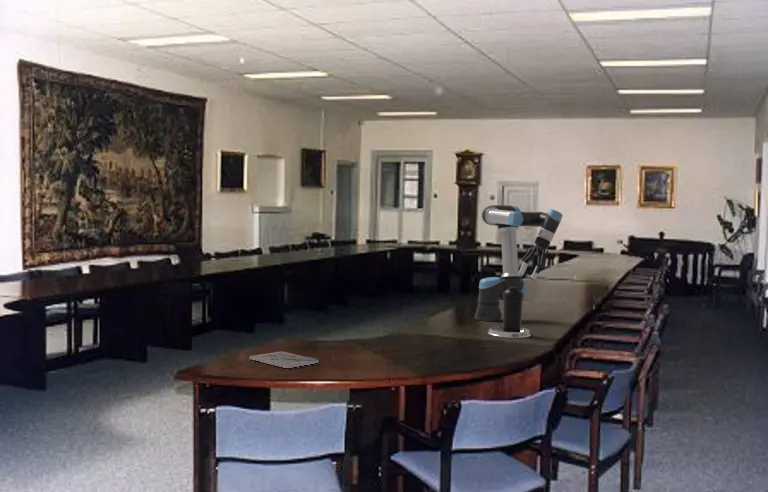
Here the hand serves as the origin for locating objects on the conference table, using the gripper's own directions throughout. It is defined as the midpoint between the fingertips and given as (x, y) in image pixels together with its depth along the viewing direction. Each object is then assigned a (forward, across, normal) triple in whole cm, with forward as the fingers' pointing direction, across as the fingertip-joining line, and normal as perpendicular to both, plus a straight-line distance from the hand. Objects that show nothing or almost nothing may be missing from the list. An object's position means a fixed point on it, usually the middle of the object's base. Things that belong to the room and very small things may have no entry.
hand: (526, 276), depth 405 cm
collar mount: (+30, +11, -2) cm, 32 cm away
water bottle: (+29, +11, 0) cm, 31 cm away
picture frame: (+76, +60, -115) cm, 150 cm away
